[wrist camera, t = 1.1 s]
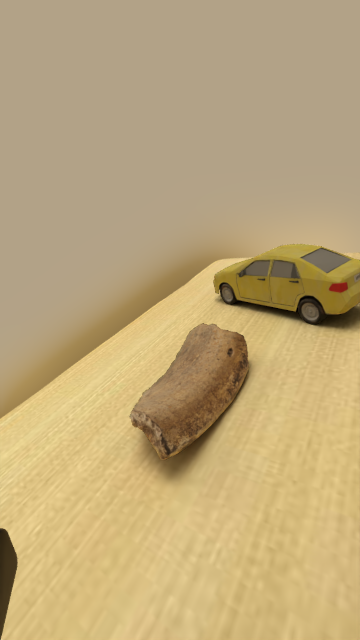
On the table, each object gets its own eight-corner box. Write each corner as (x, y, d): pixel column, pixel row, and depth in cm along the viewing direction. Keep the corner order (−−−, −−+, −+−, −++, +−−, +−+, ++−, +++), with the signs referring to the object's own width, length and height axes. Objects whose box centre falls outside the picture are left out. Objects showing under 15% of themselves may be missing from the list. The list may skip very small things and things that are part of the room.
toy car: (244, 283, 71) (239, 238, 67) (381, 305, 50) (385, 241, 46) (205, 302, 65) (196, 254, 61) (341, 337, 44) (341, 267, 40)
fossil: (112, 472, 34) (185, 488, 28) (81, 424, 32) (153, 429, 26) (203, 358, 50) (264, 352, 43) (186, 322, 48) (247, 310, 41)
